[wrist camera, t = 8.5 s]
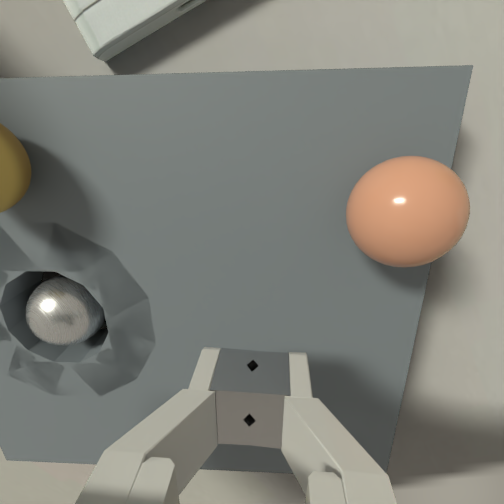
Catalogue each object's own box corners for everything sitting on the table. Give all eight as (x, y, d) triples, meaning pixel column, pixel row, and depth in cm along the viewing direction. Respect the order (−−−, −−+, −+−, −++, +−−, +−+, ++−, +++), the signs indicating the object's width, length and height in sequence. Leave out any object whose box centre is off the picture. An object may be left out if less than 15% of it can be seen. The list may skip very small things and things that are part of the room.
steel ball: (117, 269, 14) (46, 302, 11) (128, 328, 15) (66, 371, 12) (71, 258, 15) (-2, 284, 13) (84, 312, 16) (21, 348, 14)
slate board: (431, 79, 11) (472, 65, 9) (370, 432, 18) (385, 477, 15) (-79, 92, 12) (-160, 82, 10) (39, 419, 19) (6, 460, 16)
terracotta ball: (441, 151, 10) (517, 159, 7) (423, 246, 11) (481, 287, 8) (340, 153, 10) (370, 161, 7) (332, 245, 11) (355, 286, 8)
